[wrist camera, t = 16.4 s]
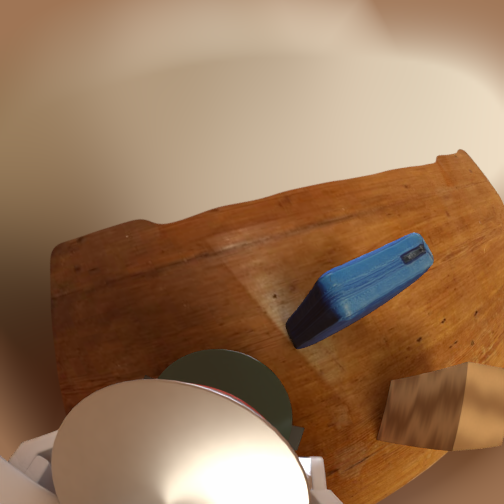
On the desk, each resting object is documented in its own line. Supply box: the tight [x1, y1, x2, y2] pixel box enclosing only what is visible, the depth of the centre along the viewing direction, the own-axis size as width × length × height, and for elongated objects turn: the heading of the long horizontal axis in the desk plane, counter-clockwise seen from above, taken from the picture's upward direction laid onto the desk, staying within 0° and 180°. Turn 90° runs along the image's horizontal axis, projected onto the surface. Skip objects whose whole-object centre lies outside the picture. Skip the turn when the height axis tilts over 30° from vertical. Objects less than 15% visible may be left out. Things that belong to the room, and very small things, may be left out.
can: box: [51, 379, 311, 504], centre depth 9 cm, size 6×6×11 cm
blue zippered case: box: [286, 233, 434, 349], centre depth 34 cm, size 14×5×20 cm, turn 114°
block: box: [377, 362, 504, 451], centre depth 27 cm, size 10×10×18 cm
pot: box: [144, 349, 305, 450], centre depth 31 cm, size 16×20×9 cm
